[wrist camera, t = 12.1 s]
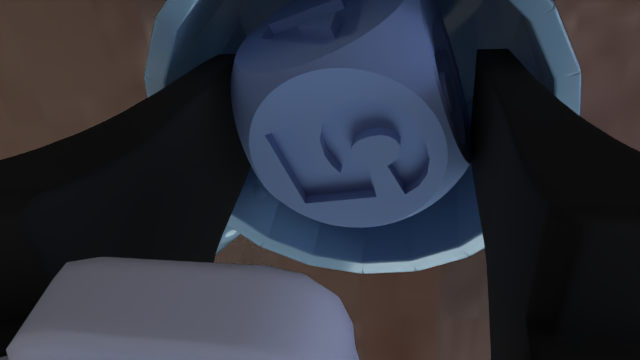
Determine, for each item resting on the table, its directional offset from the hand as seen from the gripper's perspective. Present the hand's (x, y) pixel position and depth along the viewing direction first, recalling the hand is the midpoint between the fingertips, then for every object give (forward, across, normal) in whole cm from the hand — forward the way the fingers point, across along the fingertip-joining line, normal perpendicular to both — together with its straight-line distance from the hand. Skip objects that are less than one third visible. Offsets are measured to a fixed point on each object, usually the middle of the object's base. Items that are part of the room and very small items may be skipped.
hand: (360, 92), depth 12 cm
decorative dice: (+2, 0, 0) cm, 2 cm away
